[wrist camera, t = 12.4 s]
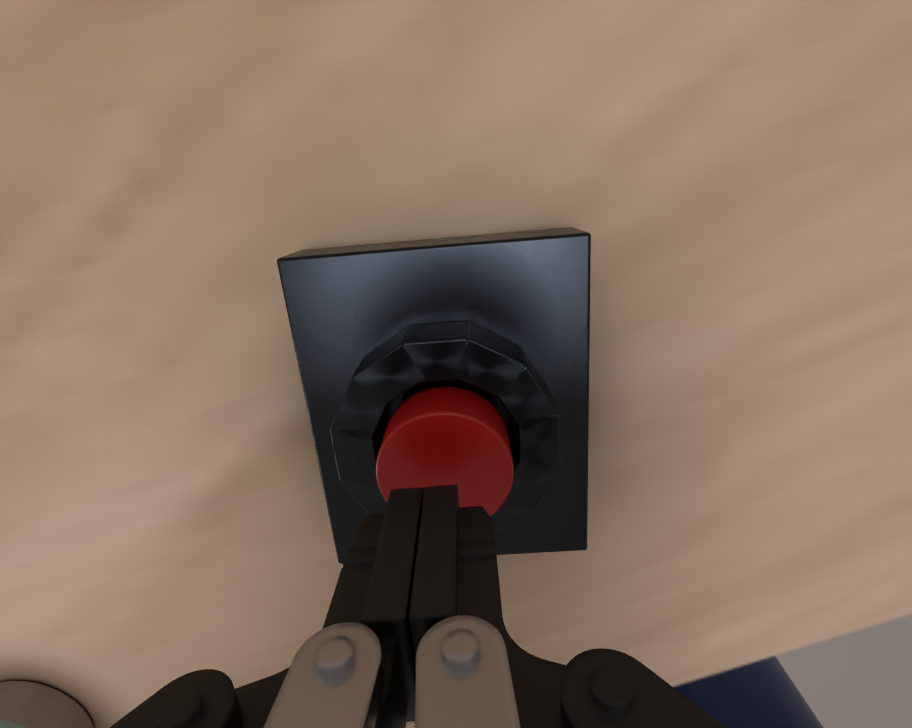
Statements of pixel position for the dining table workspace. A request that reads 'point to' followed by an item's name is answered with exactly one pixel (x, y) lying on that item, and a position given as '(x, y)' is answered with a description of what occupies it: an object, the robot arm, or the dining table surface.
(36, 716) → the coffee cup
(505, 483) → the power button
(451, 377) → the push button base
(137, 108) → the dining table surface
